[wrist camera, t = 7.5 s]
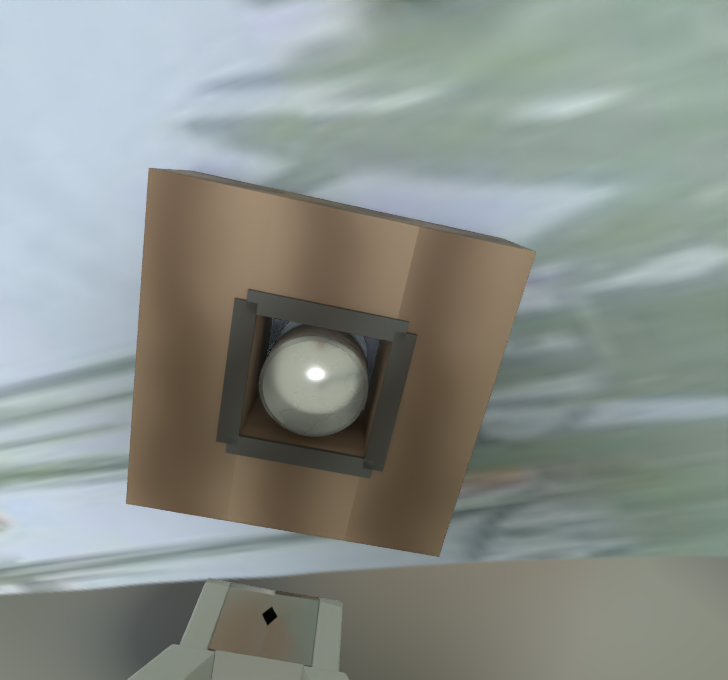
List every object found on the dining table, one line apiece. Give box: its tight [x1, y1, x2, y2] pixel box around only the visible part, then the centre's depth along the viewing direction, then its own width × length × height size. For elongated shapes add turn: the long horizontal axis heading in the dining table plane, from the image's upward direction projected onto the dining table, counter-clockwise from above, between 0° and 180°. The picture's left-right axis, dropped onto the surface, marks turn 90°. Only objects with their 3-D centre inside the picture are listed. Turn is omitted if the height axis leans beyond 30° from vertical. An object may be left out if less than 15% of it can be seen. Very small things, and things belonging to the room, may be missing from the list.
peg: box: [259, 321, 368, 437], centre depth 24 cm, size 5×5×5 cm
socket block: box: [126, 168, 536, 557], centre depth 24 cm, size 16×16×5 cm
